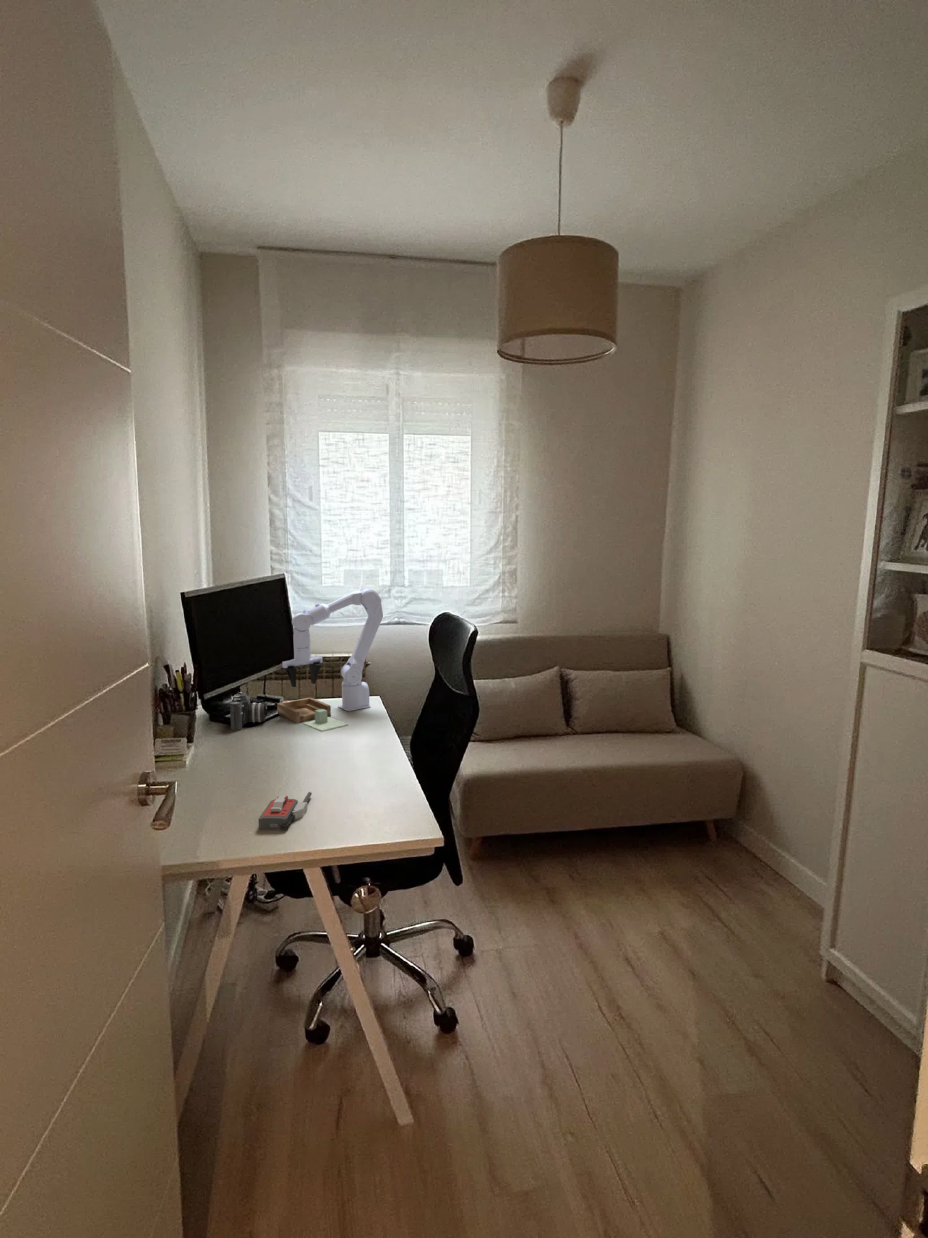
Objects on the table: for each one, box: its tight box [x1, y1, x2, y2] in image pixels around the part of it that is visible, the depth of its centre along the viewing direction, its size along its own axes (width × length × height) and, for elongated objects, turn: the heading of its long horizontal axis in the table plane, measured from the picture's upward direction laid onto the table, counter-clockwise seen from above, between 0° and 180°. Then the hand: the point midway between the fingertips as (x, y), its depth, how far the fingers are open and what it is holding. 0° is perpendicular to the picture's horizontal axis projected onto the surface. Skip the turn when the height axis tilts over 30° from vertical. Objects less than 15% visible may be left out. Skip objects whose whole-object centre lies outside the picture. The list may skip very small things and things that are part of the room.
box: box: [276, 697, 332, 724], centre depth 252 cm, size 13×15×4 cm
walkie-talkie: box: [257, 791, 313, 831], centre depth 168 cm, size 9×4×20 cm
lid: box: [302, 709, 349, 733], centre depth 240 cm, size 10×12×5 cm
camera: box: [229, 691, 267, 732], centre depth 242 cm, size 14×11×10 cm
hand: (303, 684), depth 255 cm, fingers open, 7 cm apart
